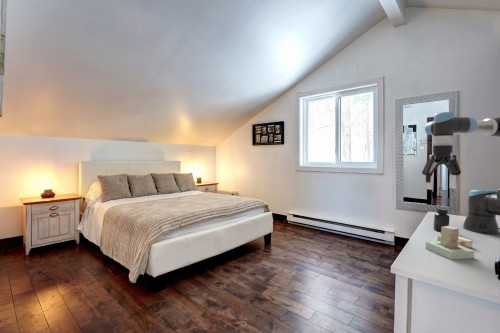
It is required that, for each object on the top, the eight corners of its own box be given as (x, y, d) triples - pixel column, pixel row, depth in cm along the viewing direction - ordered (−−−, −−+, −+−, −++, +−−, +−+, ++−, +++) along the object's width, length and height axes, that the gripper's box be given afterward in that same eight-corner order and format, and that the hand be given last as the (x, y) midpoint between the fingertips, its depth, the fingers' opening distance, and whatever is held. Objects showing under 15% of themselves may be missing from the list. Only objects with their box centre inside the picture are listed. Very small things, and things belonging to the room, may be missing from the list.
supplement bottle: (451, 232, 137) (452, 211, 137) (437, 231, 139) (438, 210, 138) (444, 229, 144) (445, 208, 143) (431, 228, 145) (432, 207, 145)
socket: (446, 247, 115) (446, 240, 115) (474, 258, 103) (474, 250, 103) (425, 248, 113) (425, 241, 113) (451, 259, 101) (451, 252, 101)
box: (450, 255, 105) (451, 229, 105) (439, 251, 109) (440, 226, 109) (457, 253, 107) (459, 228, 107) (446, 250, 111) (448, 225, 111)
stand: (453, 240, 124) (453, 234, 124) (472, 247, 116) (472, 240, 115) (437, 241, 123) (437, 235, 123) (455, 248, 114) (455, 241, 114)
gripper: (456, 145, 128) (454, 186, 129) (414, 145, 123) (412, 188, 124) (471, 144, 121) (469, 189, 122) (427, 144, 116) (426, 190, 117)
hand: (441, 188), depth 123 cm, fingers open, 13 cm apart
